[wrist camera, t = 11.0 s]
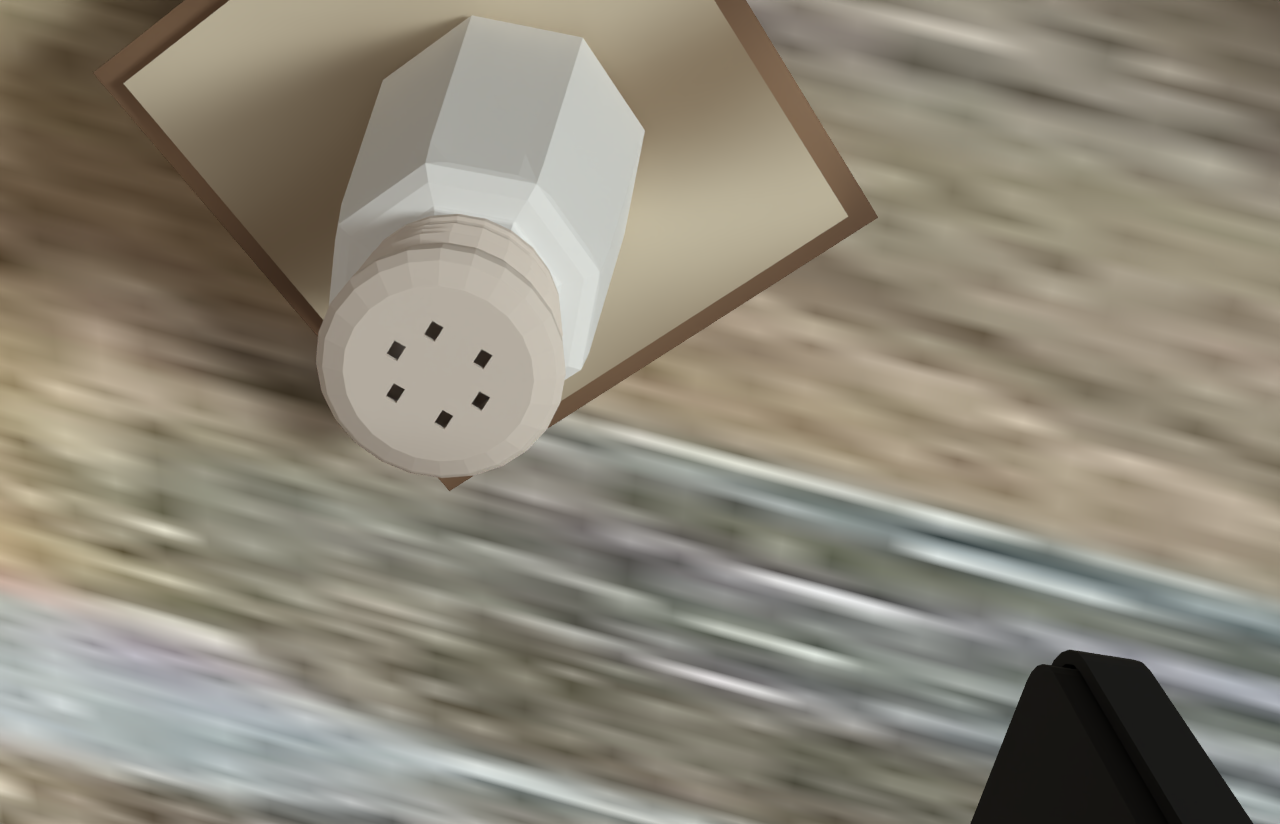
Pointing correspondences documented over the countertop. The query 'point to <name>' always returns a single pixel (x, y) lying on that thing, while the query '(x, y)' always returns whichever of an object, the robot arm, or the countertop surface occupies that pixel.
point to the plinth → (565, 3)
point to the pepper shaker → (476, 247)
